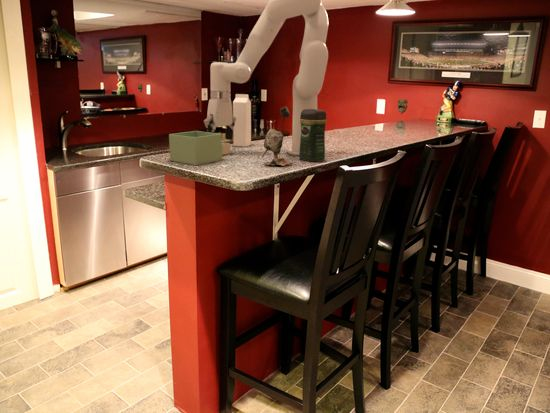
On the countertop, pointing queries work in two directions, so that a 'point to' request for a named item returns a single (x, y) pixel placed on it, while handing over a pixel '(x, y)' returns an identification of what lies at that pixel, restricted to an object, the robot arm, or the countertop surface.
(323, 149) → the coffee jar
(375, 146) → the countertop surface
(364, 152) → the countertop surface
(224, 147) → the beige grey block
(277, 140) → the plant with pod
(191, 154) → the bin
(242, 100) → the milk
